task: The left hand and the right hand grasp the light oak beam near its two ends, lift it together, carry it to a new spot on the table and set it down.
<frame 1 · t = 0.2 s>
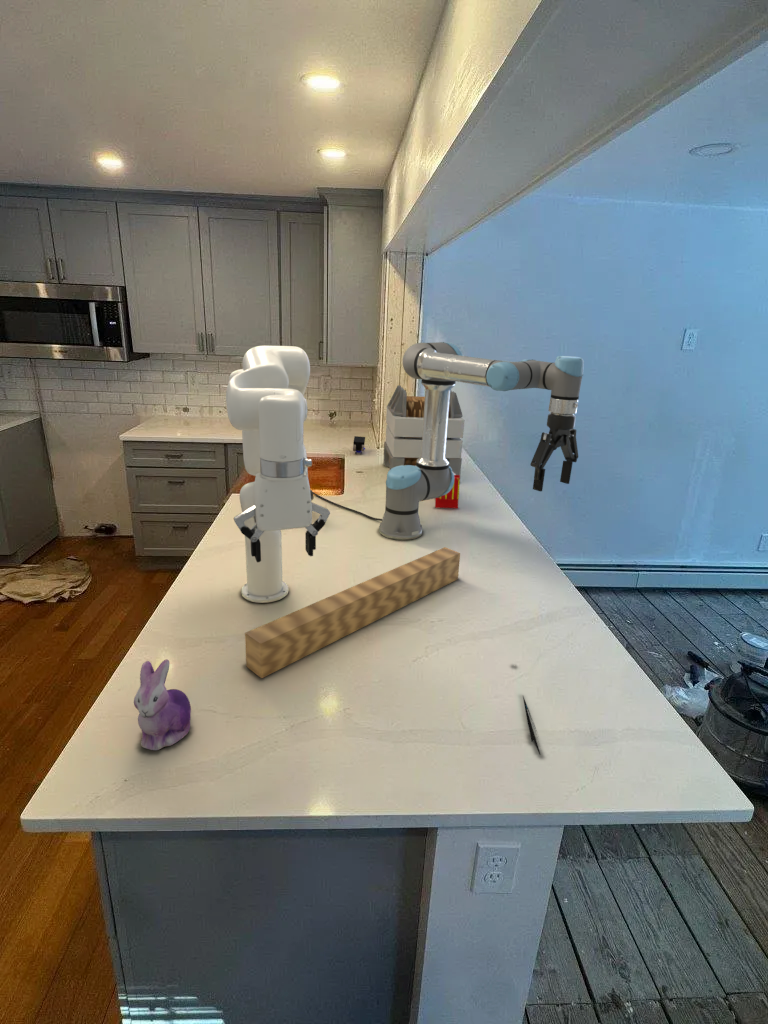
left hand: (283, 556, 105), 31 cm above the counter, tool pointing down, fingers open, 9 cm apart
right hand: (551, 486, 166), 28 cm above the counter, tool pointing down, fingers open, 13 cm apart
beam: (368, 616, 146), on the counter
fossil: (296, 515, 213), on the counter
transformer: (419, 473, 275), on the counter
figurine character: (358, 452, 309), on the counter
feather: (524, 707, 115), on the counter
figurine: (166, 734, 103), on the counter
toy: (441, 497, 240), on the counter
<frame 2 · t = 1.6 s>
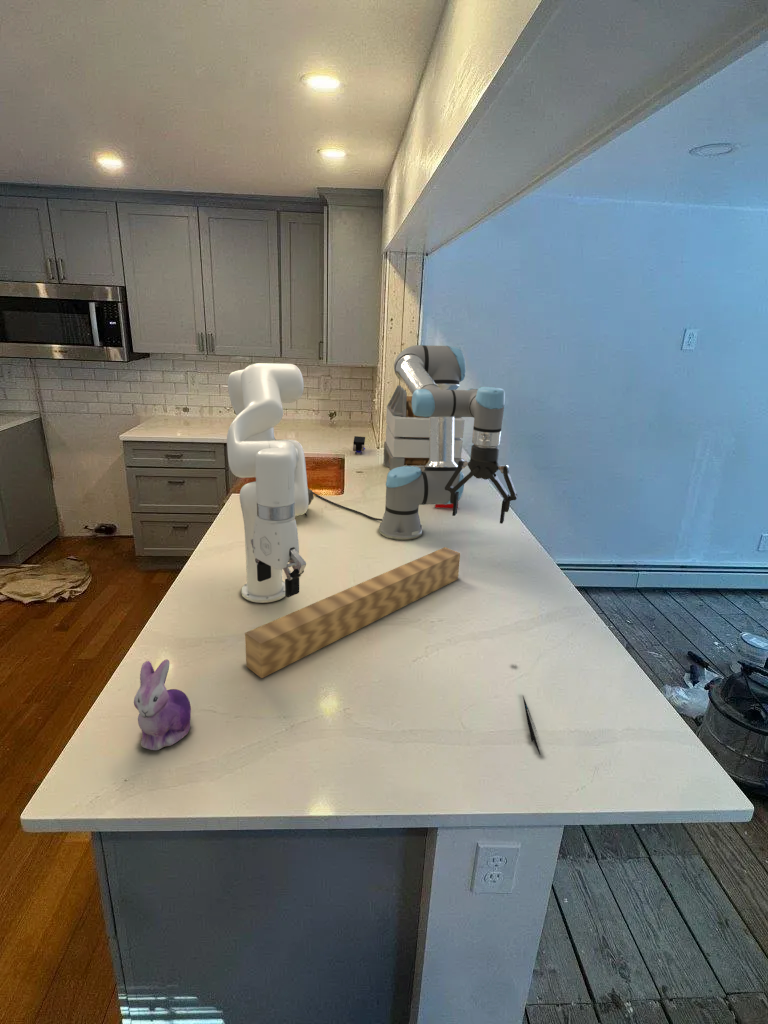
left hand: (278, 587, 120), 18 cm above the counter, tool pointing down, fingers open, 9 cm apart
right hand: (477, 518, 162), 19 cm above the counter, tool pointing down, fingers open, 13 cm apart
nothing on the counter moved.
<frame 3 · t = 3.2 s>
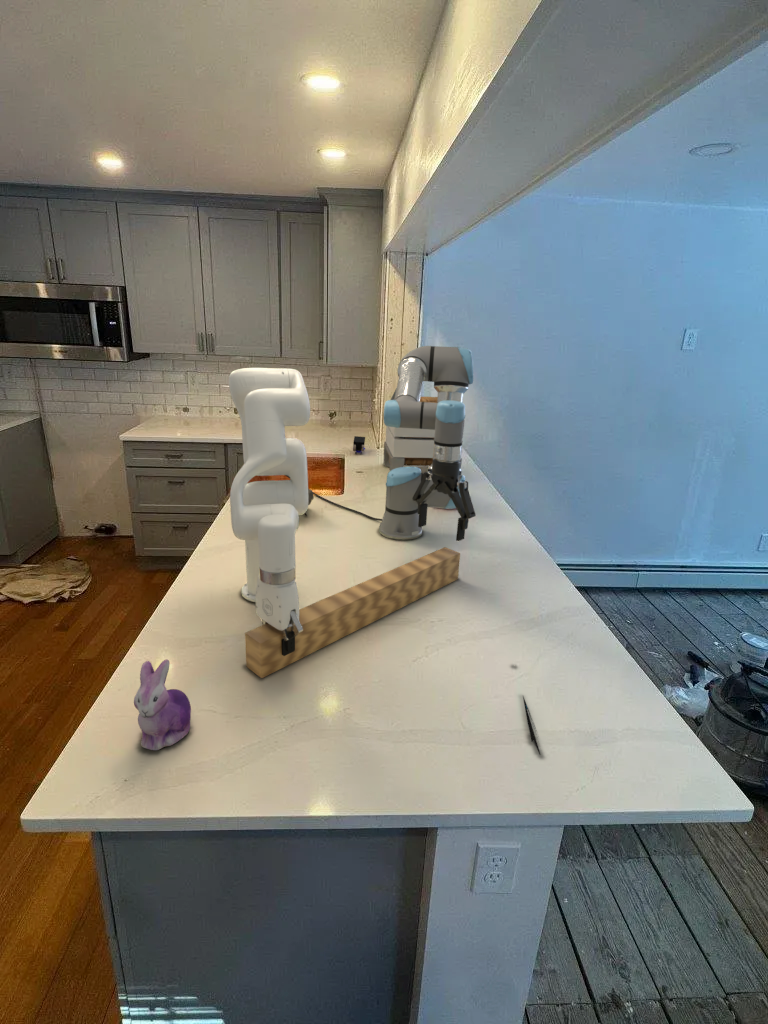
left hand: (279, 646, 125), 4 cm above the counter, tool pointing down, fingers closed on beam, 5 cm apart
right hand: (440, 532, 160), 16 cm above the counter, tool pointing down, fingers open, 13 cm apart
beam: (368, 616, 146), on the counter, touching left hand
everything else where it was.
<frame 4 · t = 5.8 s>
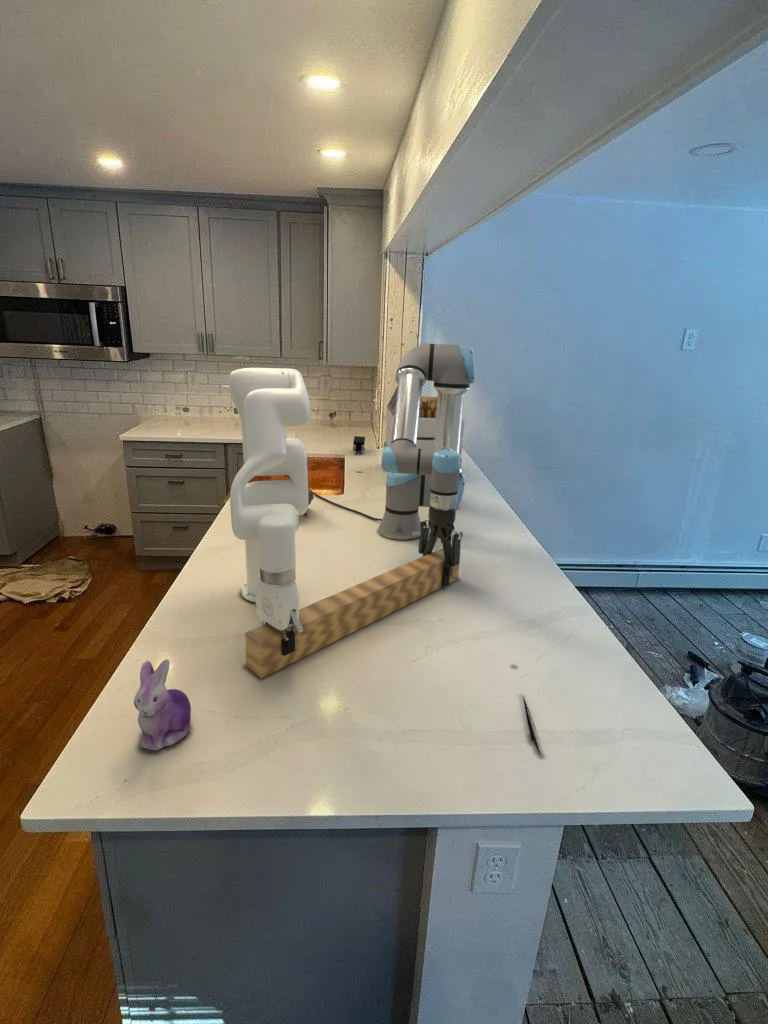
left hand: (279, 646, 125), 4 cm above the counter, tool pointing down, fingers closed on beam, 5 cm apart
right hand: (436, 581, 165), 1 cm above the counter, tool pointing down, fingers closed on beam, 6 cm apart
beam: (368, 616, 146), on the counter, touching right hand, left hand
everything else where it was.
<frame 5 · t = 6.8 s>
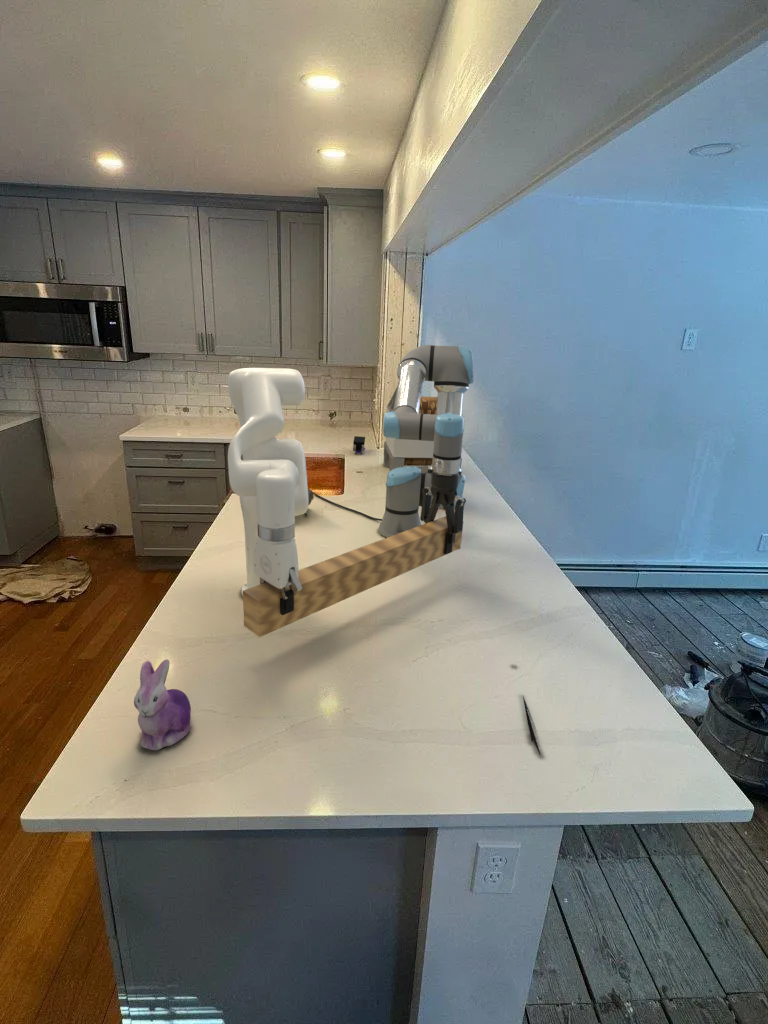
left hand: (277, 605, 123), 13 cm above the counter, tool pointing down, fingers closed on beam, 5 cm apart
right hand: (438, 549, 162), 10 cm above the counter, tool pointing down, fingers closed on beam, 6 cm apart
beam: (368, 581, 143), point 10 cm above the counter, touching right hand, left hand
everything else where it was.
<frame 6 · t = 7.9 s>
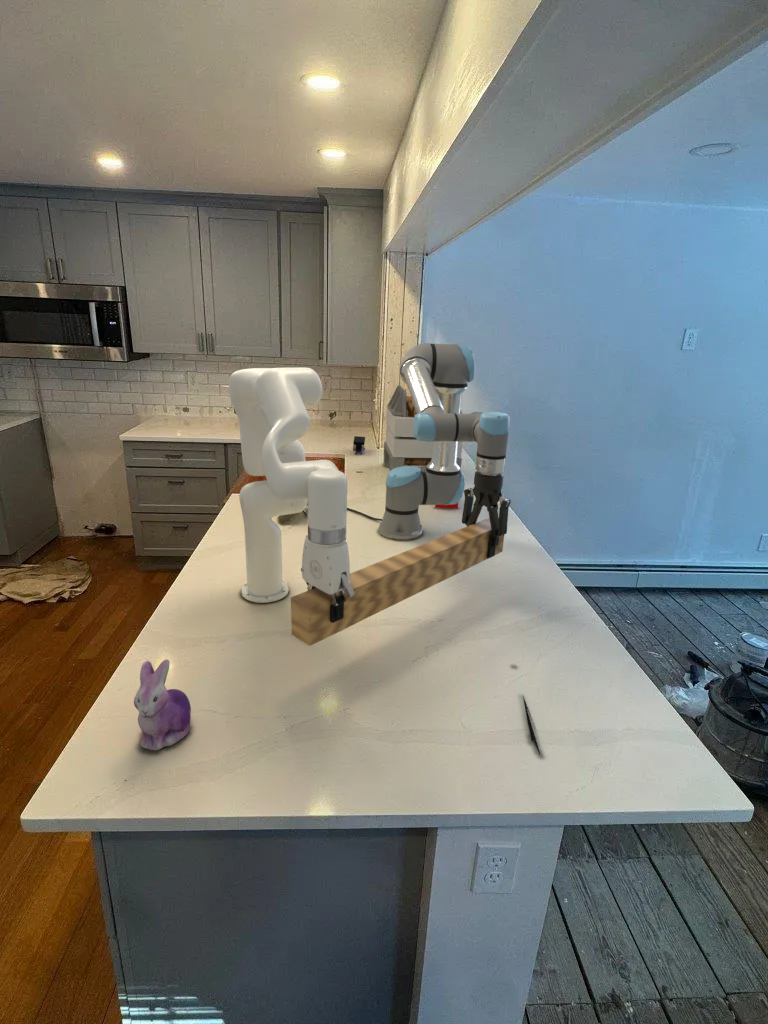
left hand: (326, 613, 117), 15 cm above the counter, tool pointing down, fingers closed on beam, 5 cm apart
right hand: (480, 552, 157), 12 cm above the counter, tool pointing down, fingers closed on beam, 6 cm apart
beam: (413, 586, 137), point 12 cm above the counter, touching right hand, left hand
everything else where it was.
when the right hand's fingers open (2 cm above the counter, at t = 10.3 s): beam stays where it is, on the counter.
when the left hand's fingers open (4 cm above the counter, at t = 10.5 s): beam stays where it is, on the counter.
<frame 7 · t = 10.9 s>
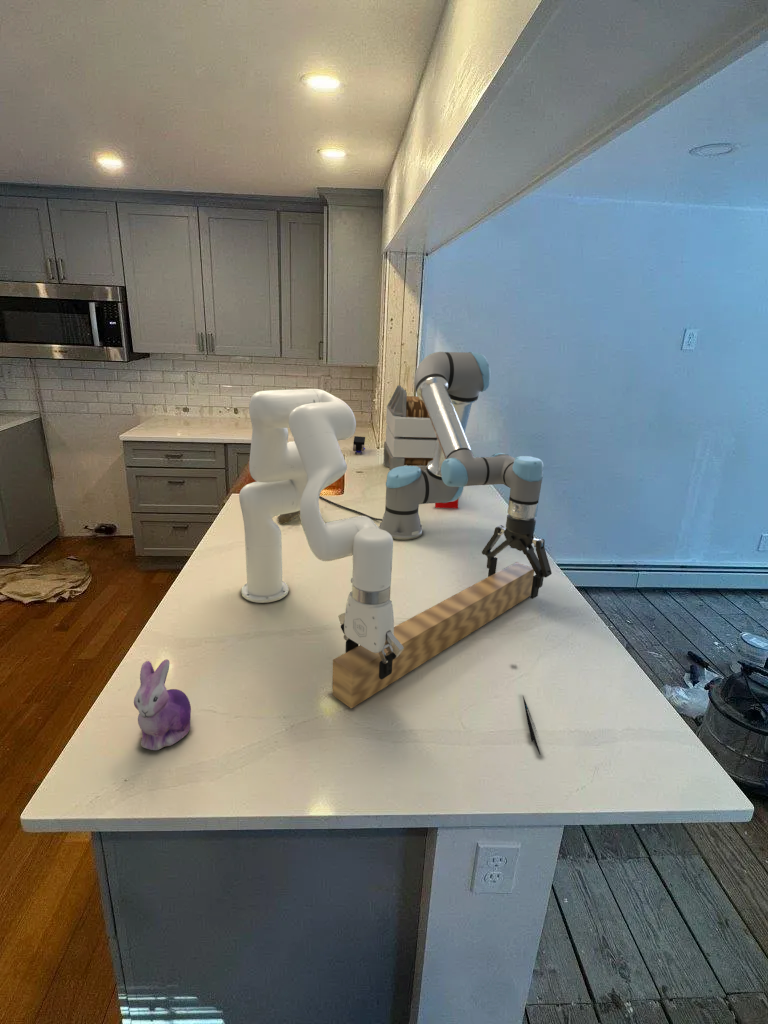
left hand: (368, 665, 116), 6 cm above the counter, tool pointing down, fingers open, 9 cm apart
right hand: (511, 588, 156), 4 cm above the counter, tool pointing down, fingers open, 13 cm apart
beam: (447, 637, 138), on the counter
everything else where it was.
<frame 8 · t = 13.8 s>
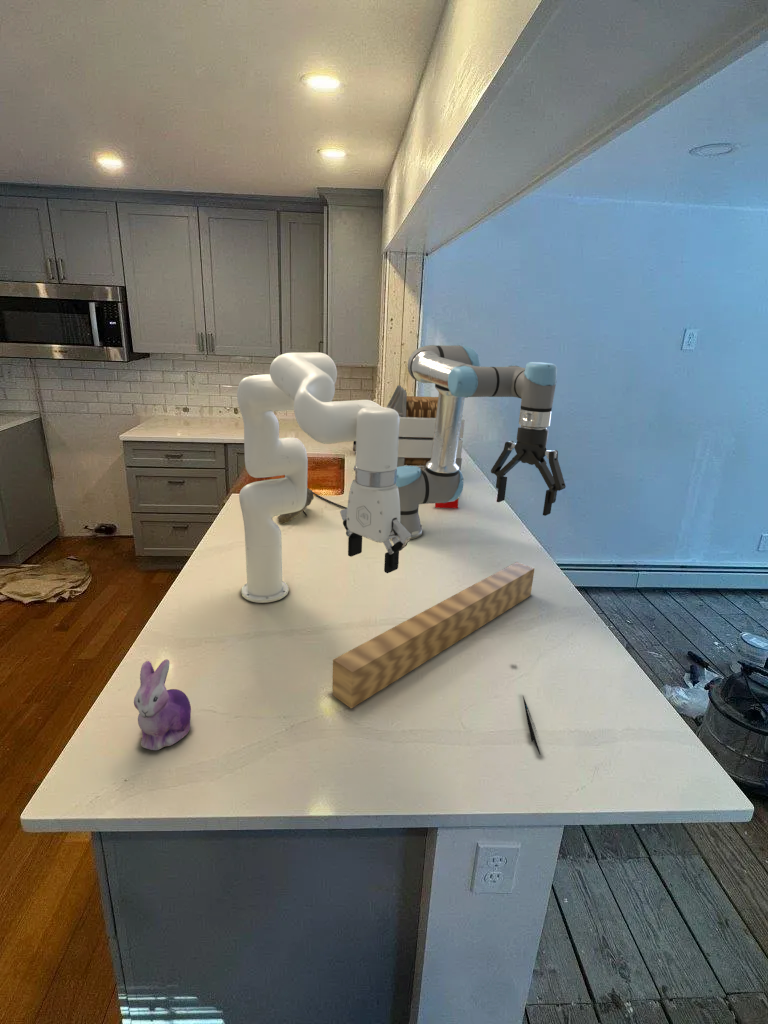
left hand: (372, 562, 108), 29 cm above the counter, tool pointing down, fingers open, 9 cm apart
right hand: (522, 507, 148), 27 cm above the counter, tool pointing down, fingers open, 13 cm apart
nothing on the counter moved.
at the end: beam inside the target area (0.4 cm from its centre), on the counter; beam tilted 0°; beam never tilted more than 2° during the clip; both hands held the beam at the same time; the left hand is holding nothing; the right hand is holding nothing; beam at rest at the end (0.0 cm/s) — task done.
